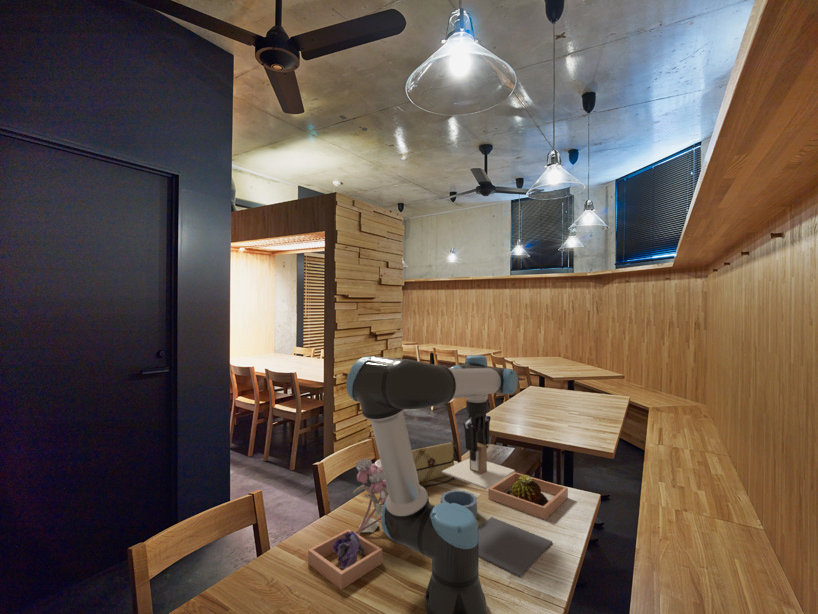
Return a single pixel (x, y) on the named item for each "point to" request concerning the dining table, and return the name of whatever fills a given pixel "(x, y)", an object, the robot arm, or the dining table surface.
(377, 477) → the flower
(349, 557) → the flower
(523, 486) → the cactus
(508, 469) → the board
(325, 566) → the flower tray
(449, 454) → the clutch purse
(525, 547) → the rubber mat
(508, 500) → the cactus tray
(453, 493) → the bowl
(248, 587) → the dining table surface
